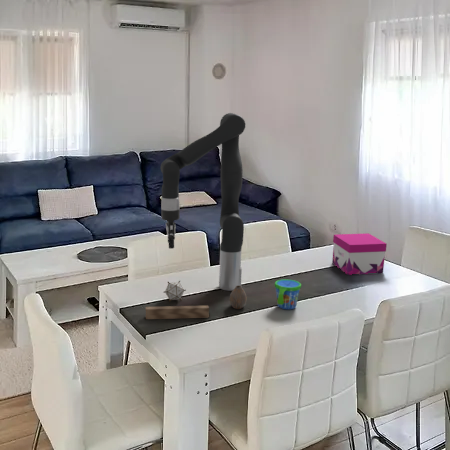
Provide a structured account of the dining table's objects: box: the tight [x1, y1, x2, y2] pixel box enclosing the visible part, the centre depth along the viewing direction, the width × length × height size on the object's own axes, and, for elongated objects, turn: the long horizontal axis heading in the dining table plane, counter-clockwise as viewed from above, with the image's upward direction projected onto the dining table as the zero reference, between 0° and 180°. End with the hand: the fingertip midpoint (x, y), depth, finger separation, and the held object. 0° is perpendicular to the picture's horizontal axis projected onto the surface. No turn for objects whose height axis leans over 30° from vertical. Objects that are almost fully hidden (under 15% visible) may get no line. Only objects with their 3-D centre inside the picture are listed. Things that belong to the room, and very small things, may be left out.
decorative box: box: [331, 233, 387, 276], centre depth 301 cm, size 19×19×15 cm
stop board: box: [145, 305, 210, 320], centre depth 236 cm, size 24×2×4 cm, turn 98°
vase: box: [229, 285, 248, 310], centre depth 248 cm, size 7×7×9 cm
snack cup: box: [274, 278, 302, 310], centre depth 249 cm, size 16×10×10 cm
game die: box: [163, 280, 187, 302], centre depth 253 cm, size 9×8×10 cm
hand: (170, 245), depth 259 cm, fingers open, 8 cm apart
